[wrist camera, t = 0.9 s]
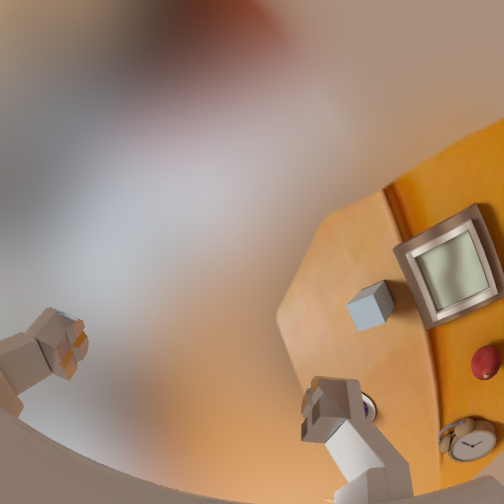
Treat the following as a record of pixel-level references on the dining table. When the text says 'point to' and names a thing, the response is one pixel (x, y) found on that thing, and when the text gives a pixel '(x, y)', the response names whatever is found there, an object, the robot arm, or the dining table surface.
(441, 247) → the tray
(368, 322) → the light blue-grey block
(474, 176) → the dining table surface
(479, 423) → the alarm clock
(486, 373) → the onion
